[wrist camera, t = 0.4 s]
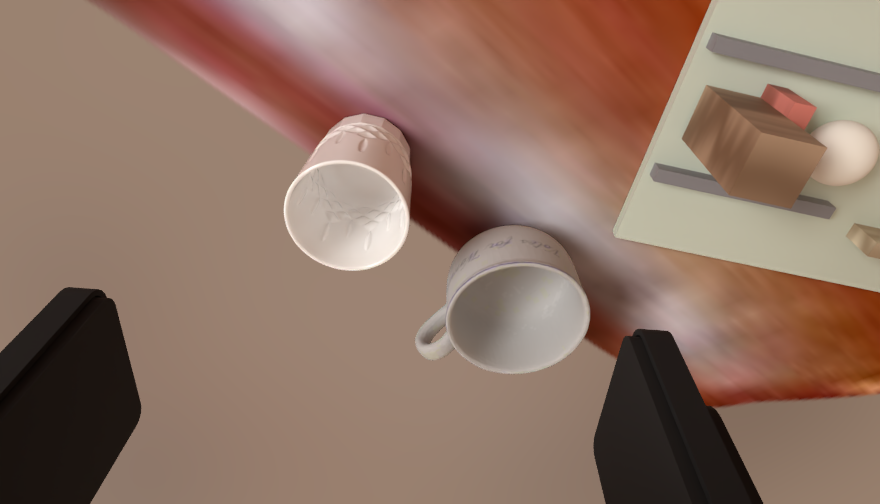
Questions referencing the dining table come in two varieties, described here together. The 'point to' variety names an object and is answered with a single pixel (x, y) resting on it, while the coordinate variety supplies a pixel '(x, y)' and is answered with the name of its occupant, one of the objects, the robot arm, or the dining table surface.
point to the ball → (845, 152)
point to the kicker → (755, 142)
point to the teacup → (509, 303)
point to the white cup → (353, 195)
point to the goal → (866, 239)
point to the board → (837, 98)
